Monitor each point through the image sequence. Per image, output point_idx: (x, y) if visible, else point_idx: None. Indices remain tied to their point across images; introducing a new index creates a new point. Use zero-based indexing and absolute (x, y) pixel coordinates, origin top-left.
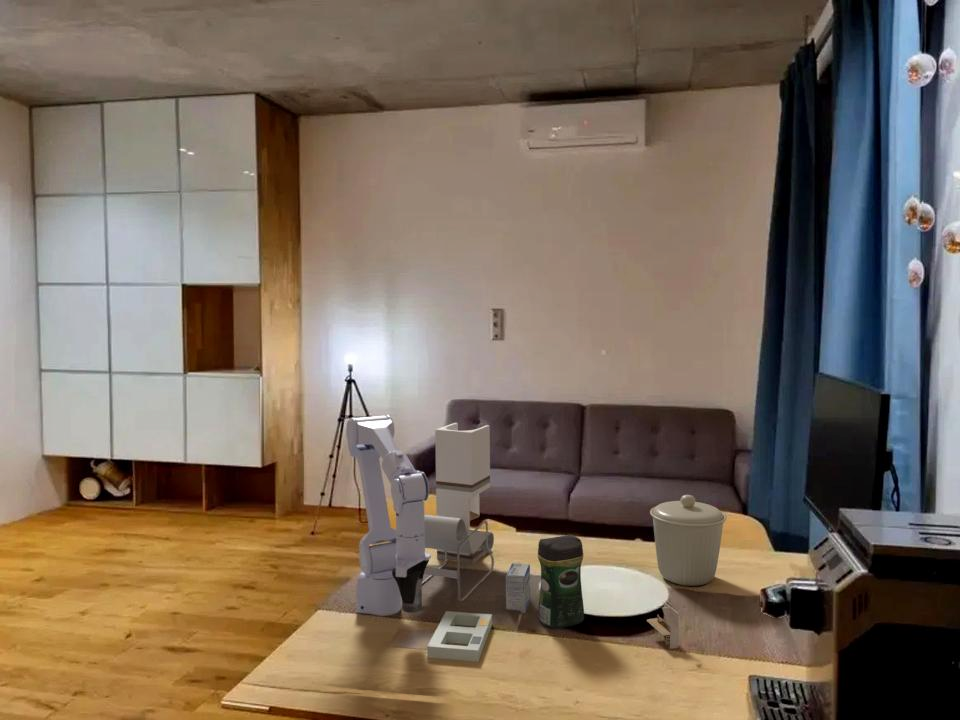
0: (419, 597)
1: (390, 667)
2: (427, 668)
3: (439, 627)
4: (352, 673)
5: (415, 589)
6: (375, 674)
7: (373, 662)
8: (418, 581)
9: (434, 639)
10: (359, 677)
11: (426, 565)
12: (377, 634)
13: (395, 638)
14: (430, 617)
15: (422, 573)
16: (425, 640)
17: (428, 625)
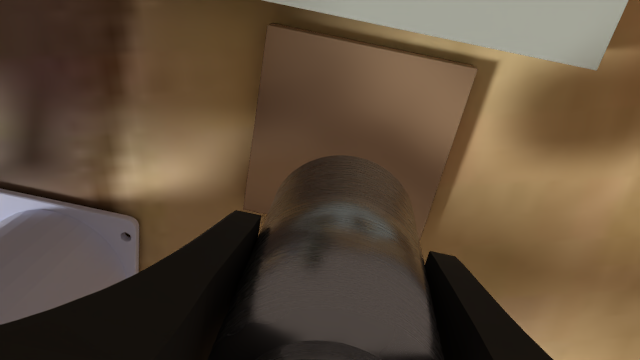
0: (390, 221)
1: (575, 216)
2: (635, 51)
3: (345, 3)
4: (586, 338)
5: (493, 330)
6: (620, 266)
7: (514, 279)
8: (387, 342)
9: (513, 28)
10: (626, 316)
11: (19, 348)
12: None
13: None
14: (75, 63)
15: (181, 325)
16: (374, 78)
17: (166, 69)
